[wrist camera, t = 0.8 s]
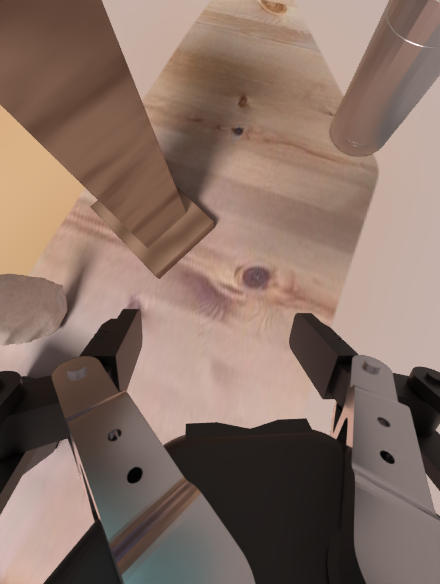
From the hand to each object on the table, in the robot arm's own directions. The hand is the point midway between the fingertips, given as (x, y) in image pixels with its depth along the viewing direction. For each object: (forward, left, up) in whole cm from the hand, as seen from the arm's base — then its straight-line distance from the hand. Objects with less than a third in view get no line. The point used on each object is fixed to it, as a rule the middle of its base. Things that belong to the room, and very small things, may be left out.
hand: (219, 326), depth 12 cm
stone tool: (+9, -25, -22) cm, 34 cm away
